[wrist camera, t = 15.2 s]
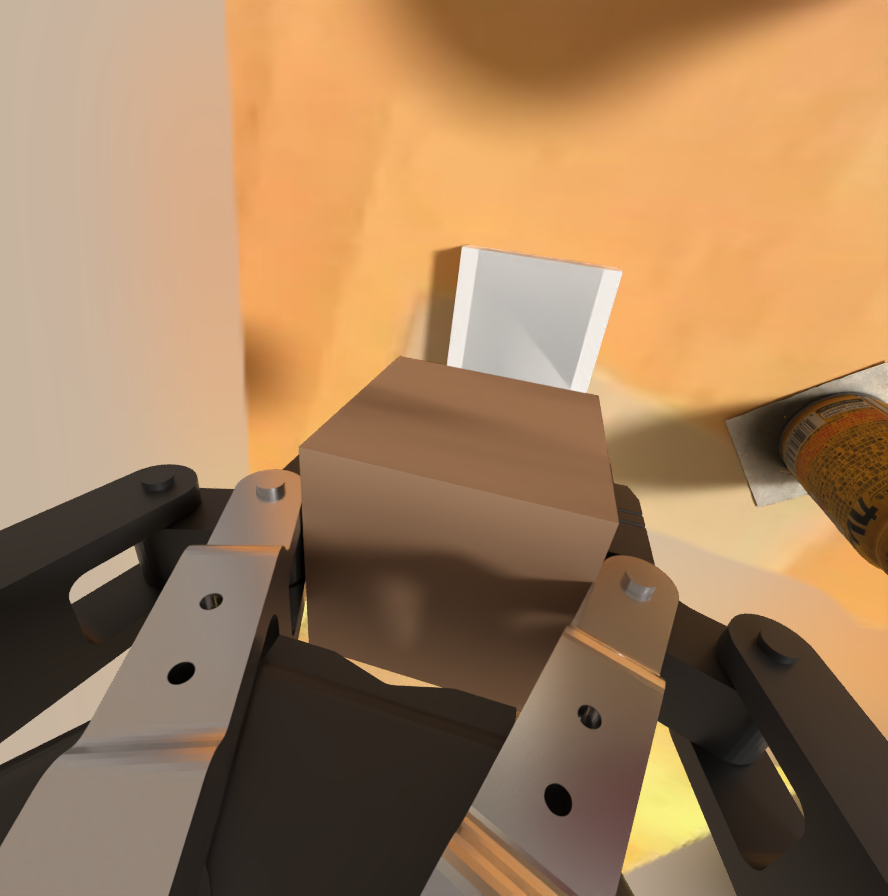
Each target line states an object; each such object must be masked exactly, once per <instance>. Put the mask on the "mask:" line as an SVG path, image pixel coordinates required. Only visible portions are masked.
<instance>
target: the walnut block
mask: <svg viewBox="0 0 888 896" xmlns="http://www.w3.org/2000/svg"><path fill="white" fill-rule="evenodd" d="M299 461H300V480H301V500H302V519H303V538H304V558H305V577H306V596H307V616H308V635H309V644H312V645H316V646H319V647H322V648H325V649H329V650H332V651H335V652H336V653H338V654H339V655H341V656H343V657H346V658H349V659H353V660H356V661H359V662H362V663H366V664H369V665H372V666H375V667H378V668H382V669H385V670H388V671H391V672H395V673H398V674H401V675H404V676H407V677H411V678H414V679H417V680H420V681H424V682H427V683H430V684H433V685H436V686H440V687H443V688H455V689H458V690H461V691H464V692H468V693H471V694H474V695H477V696H481V697H484V698H487V699H490V700H493V701H497V702H500V703H503V704H506V705H510V706H513V707H516V710H517V711H520V712H521V711H522V709H523V707H524V705H525V703H526V702H527V700H528V698H529V696H530V694H531V692H532V690H533V688H534V686H535V685H536V683H537V681H538V679H539V677H540V675H541V673H542V671H543V670H544V668H545V666H546V664H547V662H548V660H549V658H550V656H551V654H552V653H553V651H554V649H555V647H556V645H557V643H558V641H559V639H560V637H561V636H562V634H563V632H564V630H565V628H566V627H567V625H568V624H569V625H571V623H572V621H573V619H574V617H575V615H576V614H577V612H578V610H579V608H580V606H581V604H582V602H583V600H584V598H585V596H586V594H587V592H588V591H589V589H590V587H591V585H592V583H593V582H594V583H595V581H596V579H597V576H598V574H599V571H600V569H601V567H602V564H603V562H604V559H605V557H606V554H607V552H608V549H609V547H610V544H611V542H612V539H613V537H614V535H615V532H616V530H617V527H618V525H619V520H618V514H617V508H616V501H615V495H614V489H613V483H612V476H611V470H610V464H609V457H608V451H607V445H606V439H605V432H604V426H603V420H602V413H601V407H600V401H599V396H598V395H593V394H588V393H583V392H578V391H573V390H568V389H563V388H558V387H553V386H548V385H543V384H537V383H532V382H527V381H522V380H517V379H512V378H507V377H502V376H497V375H492V374H487V373H482V372H477V371H472V370H467V369H462V368H457V367H452V366H447V365H442V364H437V363H432V362H427V361H422V360H417V359H412V358H407V357H402V356H399V357H398V358H397V359H396V360H395V361H393V362H392V363H391V364H390V365H389V366H388V367H387V368H386V369H385V370H384V371H382V372H381V373H380V374H379V375H378V376H377V377H376V378H375V379H374V380H372V381H371V382H370V383H369V384H368V385H367V386H366V387H365V388H364V389H362V390H361V391H360V392H359V393H358V394H357V395H356V396H355V397H354V398H352V399H351V400H350V401H349V402H348V403H347V404H346V405H345V406H344V407H342V408H341V409H340V410H339V411H338V412H337V413H336V414H335V415H334V416H332V417H331V418H330V419H329V420H328V421H327V422H326V423H325V424H324V425H322V426H321V427H320V428H319V429H318V430H317V431H316V432H315V433H314V434H313V435H311V436H310V437H309V438H308V439H307V440H306V441H305V442H304V443H303V444H301V445H300V446H299Z"/></svg>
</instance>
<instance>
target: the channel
mask: <svg viewBox="0 0 888 896" xmlns="http://www.w3.org/2000/svg"><path fill="white" fill-rule="evenodd" d="M622 273H623V272H622V270H621V269H620V268H618V267H612V266H605V265H599V264H592V263H586V262H580V261H573V260H567V259H560V258H554V257H547V256H541V255H535V254H528V253H522V252H515V251H509V250H503V249H496V248H490V247H483V246H477V245H470V244H468V245H465V246H463V247H462V251H461V259H460V267H459V275H458V282H457V290H456V298H455V306H454V314H453V321H452V329H451V337H450V345H449V353H448V360H447V366H452V367H457V368H462V369H467V370H472V371H477V372H482V373H487V374H492V375H497V376H502V377H507V378H512V379H517V380H522V381H527V382H532V383H537V384H543V385H548V386H553V387H558V388H563V389H568V390H573V391H578V392H583V393H586V392H587V389H588V386H589V382H590V379H591V376H592V372H593V369H594V366H595V362H596V359H597V356H598V352H599V349H600V346H601V342H602V339H603V336H604V333H605V329H606V326H607V323H608V319H609V316H610V313H611V309H612V306H613V303H614V299H615V296H616V293H617V289H618V286H619V283H620V279H621V276H622Z"/></svg>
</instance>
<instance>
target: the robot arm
mask: <svg viewBox="0 0 888 896" xmlns="http://www.w3.org/2000/svg"><path fill="white" fill-rule="evenodd" d="M609 464H610V463H609ZM610 470H611V465H610ZM611 476H612V470H611ZM612 483H613V489H614V495H615V501H616V508H617V514H618V520H619V525H618V527H617V530H616V532H615V535H614V537H613V539H612V542H611V544H610V547H609V549H608V552H607V554H606V557H605V559H604V562H603V564H602V567H601V569H600V571H599V574H598V576H597V579H596V581H595V583H594V582H593V583H592V585H591V587H590V589H589V591H588V592H587V594H586V596H585V598H584V600H583V602H582V604H581V606H580V608H579V610H578V612H577V614H576V615H575V617H574V619H573V621H572V623H571V625H569V624H568V625H567V627H566V628H565V630H564V632H563V634H562V636H561V637H560V639H559V641H558V643H557V645H556V647H555V649H554V651H553V653H552V654H551V656H550V658H549V660H548V662H547V664H546V666H545V668H544V670H543V671H542V673H541V675H540V677H539V679H538V681H537V683H536V685H535V686H534V688H533V690H532V692H531V694H530V696H529V698H528V700H527V702H526V703H525V705H524V707H523V709H522V711H521V713H520V715H519V717H518V719H517V720H516V722H515V718H516V707H513V706H510V705H506V704H503V703H500V702H497V701H493V700H490V699H487V698H484V697H481V696H477V695H474V694H471V693H468V692H464V691H461V690H458V689H455V688H435V687H416V686H396V685H389V684H386V683H384V682H382V681H380V680H379V679H377V678H376V677H374V676H372V675H371V674H369V673H368V672H366V671H365V670H363V669H361V668H360V667H358V666H357V665H355V664H354V663H352V662H350V661H349V660H347V659H346V658H344V657H343V656H341V655H339V654H338V653H336V652H335V651H332V650H329V649H325V648H322V647H319V646H316V645H312V644H309V643H306V642H303V641H300V640H298V637H299V632H300V626H301V621H302V616H303V611H304V606H305V601H306V577H305V558H304V538H303V519H302V500H301V480H300V461H299V455H298V456H297V457H296V458H295V459H293V460H292V461H291V462H290V463H289V464H288V465H287V466H286V467H285V468H284V469H283V470H278V469H275V470H264V471H259V472H256V473H253V474H250V475H248V476H246V477H245V478H243V479H242V480H241V481H240V482H239V483H238V484H237V485H236V487H235V489H212V488H211V489H210V488H199V484H198V478H197V475H196V473H195V472H194V471H193V470H192V469H190V468H188V467H185V466H181V465H170V464H169V465H157V466H152V467H148V468H145V469H141V470H139V471H136V472H134V473H131V474H130V475H127V476H125V477H123V478H120V479H118V480H115V481H113V482H111V483H109V484H106V485H104V486H102V487H99V488H97V489H95V490H92V491H90V492H88V493H86V494H83V495H81V496H79V497H76V498H74V499H72V500H70V501H67V502H65V503H62V504H60V505H58V506H56V507H53V508H51V509H49V510H46V511H44V512H42V513H39V514H37V515H35V516H33V517H30V518H28V519H26V520H23V521H21V522H19V523H16V524H14V525H12V526H10V527H8V528H5V529H3V530H1V531H0V743H1V742H2V741H4V740H5V739H7V738H8V737H9V736H11V735H12V734H13V733H15V732H16V731H17V730H19V729H20V728H21V727H23V726H24V725H25V724H27V723H28V722H30V721H31V720H32V719H34V718H35V717H36V716H38V715H39V714H40V713H42V712H43V711H44V710H46V709H47V708H49V707H50V706H51V705H53V704H54V703H55V702H57V701H58V700H59V699H61V698H62V697H63V696H65V695H66V694H67V693H69V692H70V691H71V690H73V689H74V688H76V687H77V686H78V685H80V684H81V683H82V682H84V681H85V680H86V679H88V678H89V677H90V676H92V675H93V674H95V673H96V672H97V671H99V670H100V669H101V668H103V667H104V666H105V665H107V664H108V663H109V662H111V661H112V660H113V659H115V658H116V657H118V656H119V655H120V654H122V653H123V652H124V651H126V650H127V649H128V648H130V647H131V646H132V647H131V648H130V650H129V652H128V654H127V656H126V657H125V659H124V661H123V663H122V665H121V667H120V668H119V670H118V672H117V674H116V676H115V678H114V679H113V681H112V683H111V685H110V687H109V688H108V690H107V692H106V694H105V696H104V697H103V699H102V701H101V703H100V705H99V707H98V709H97V710H96V712H95V714H94V716H93V718H92V719H91V720H90V721H88V722H86V723H84V724H82V725H80V726H78V727H76V728H74V729H72V730H70V731H68V732H66V733H64V734H62V735H60V736H58V737H56V738H54V739H52V740H50V741H48V742H46V743H44V744H42V745H40V746H38V747H36V748H34V749H32V750H29V751H27V752H26V753H23V754H21V755H19V756H17V757H15V758H13V759H11V760H9V761H7V762H5V763H3V764H1V765H0V896H634V894H633V893H632V891H631V889H630V887H629V885H628V883H627V882H626V880H625V878H624V876H623V874H622V873H621V871H622V867H623V863H624V858H625V854H626V850H627V846H628V842H629V837H630V833H631V829H632V825H633V821H634V816H635V812H636V808H637V804H638V800H639V796H640V791H641V787H642V783H643V779H644V775H645V770H646V766H647V762H648V758H649V754H650V750H651V745H652V741H653V737H654V733H655V729H656V724H657V721H659V722H660V723H662V724H663V725H665V726H667V727H668V728H669V731H670V734H671V737H672V740H673V742H674V745H675V747H676V750H677V752H678V754H679V757H680V759H681V762H682V764H683V766H684V769H685V771H686V774H687V776H688V779H689V781H690V783H691V786H692V788H693V791H694V793H695V795H696V798H697V800H698V803H699V805H700V808H701V810H702V812H703V815H704V817H705V820H706V822H707V824H708V827H709V829H710V832H711V834H712V837H713V839H714V841H715V844H716V846H717V849H718V851H719V853H720V856H721V858H722V861H723V863H724V866H725V868H726V870H727V873H728V875H729V878H730V880H731V882H732V884H733V887H734V890H735V892H736V895H737V896H888V741H887V740H886V738H885V737H884V736H883V735H882V734H881V732H880V731H879V730H878V729H877V727H876V726H875V725H874V723H873V722H872V721H871V720H870V719H869V717H868V716H867V715H866V714H865V712H864V711H863V710H862V709H861V707H860V706H859V705H858V704H857V702H856V701H855V700H854V699H853V697H852V696H851V695H850V694H849V692H848V691H847V690H846V689H845V687H844V686H843V685H842V684H841V682H840V681H839V680H838V679H837V677H836V676H835V675H834V674H833V672H832V671H831V670H830V669H829V668H828V667H827V665H826V664H825V663H824V661H823V660H822V659H821V658H820V656H819V655H818V654H817V653H816V651H815V650H814V649H813V648H812V647H811V646H810V645H809V644H808V643H807V642H806V641H805V640H804V639H803V638H801V637H800V636H799V635H798V634H796V633H795V632H793V631H792V630H791V629H789V628H787V627H786V626H784V625H782V624H780V623H778V622H776V621H774V620H772V619H769V618H766V617H764V616H760V615H755V614H740V615H737V616H735V617H734V618H733V619H732V620H731V621H730V623H729V624H728V626H725V625H723V624H721V623H719V622H717V621H715V620H713V619H711V618H709V617H707V616H705V615H703V614H701V613H699V612H697V611H695V610H693V609H691V608H689V607H688V606H686V605H685V604H683V603H682V602H680V601H679V594H678V590H677V588H676V586H675V584H674V583H673V581H672V580H671V579H670V578H669V577H668V576H667V575H666V574H665V573H664V572H663V571H661V570H660V569H659V568H658V567H656V566H655V564H654V560H653V556H652V551H651V547H650V543H649V539H648V535H647V531H646V528H645V523H644V519H643V517H642V510H641V506H640V502H639V500H638V498H637V497H636V496H635V495H634V494H633V492H632V491H631V490H630V489H629V488H628V486H624V485H619V484H615V483H614V482H613V476H612ZM132 546H135V550H136V553H137V556H138V560H139V564H138V565H136V566H134V567H132V568H131V569H129V570H128V571H126V572H124V573H122V574H121V575H119V576H118V577H116V578H114V579H113V580H111V581H109V582H107V583H106V584H104V585H102V586H101V587H99V588H97V589H96V590H94V591H93V592H91V593H89V594H88V595H86V596H84V597H83V598H81V599H80V600H78V601H76V602H74V603H73V604H71V603H70V600H69V592H70V589H71V587H72V586H73V584H74V583H75V581H76V580H77V579H78V578H79V577H81V576H82V575H83V574H84V573H86V572H88V571H89V570H91V569H93V568H95V567H97V566H98V565H100V564H101V563H104V562H105V561H107V560H109V559H111V558H112V557H114V556H116V555H118V554H119V553H121V552H123V551H125V550H127V549H128V548H130V547H132ZM768 746H769V748H770V749H771V751H772V753H773V755H774V756H775V758H776V760H777V761H778V763H779V765H780V767H781V768H782V770H783V772H784V774H785V775H786V777H787V779H788V780H789V782H790V784H791V786H792V787H793V789H794V791H795V792H796V794H797V796H798V798H799V800H800V803H801V805H802V809H803V812H804V817H805V818H804V817H803V815H802V813H801V811H800V810H799V808H798V806H797V804H796V803H795V801H794V799H793V797H792V796H791V794H790V792H789V790H788V789H787V787H786V785H785V783H784V782H783V780H782V778H781V776H780V775H779V773H778V771H777V769H776V768H775V766H774V764H773V763H772V761H771V759H770V757H769V756H768V754H767V752H766V751H765V749H766V748H767V747H768Z"/></svg>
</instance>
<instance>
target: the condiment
mask: <svg viewBox="0 0 888 896" xmlns="http://www.w3.org/2000/svg"><path fill="white" fill-rule="evenodd" d="M785 415H786V417H785V418H784V417H783V416H785ZM725 423H726V425H727V428H728V430H729V434H730V436H731V439H732V441H733V444H734V446H735V449H736V452H737V454H738V457H739V460H740V462H741V465H742V467H743V470H744V473H745V475H746V477H747V480H748V483H749V485H750V488H751V490H752V493H753V495H754V498H755V500H756V503H757V506H758V508H759V507H763V506H766V505H772V504H775V503H778V502H781V501H785V500H791V499H794V498H797V497H799V496H803V495H810V496H811V498H812V499H813V500H814V501H815V502H816V503H817V504H818V505H819V506H820V508H821V509H822V510H823V511H824V513H825V514H826V515H827V516H828V517H829V518H830V520H831V521H832V522H833V523H834V524H835V526H836V527H837V529H838V530H839V531H840V532H841V533H842V534H843V535H844V536H845V538H846V539H847V540H848V541H849V542H850V544H851V545H852V546H853V547H854V549H856V550H857V552H858V553H859V554H860V555H861V556H862V557H863V558H864V559H865V560H866V561H868V562H869V563H870V564H872V565H874V566H875V567H877V568H879V569H881V570H883V571H884V572H885V573H886V574H887V575H888V362H886V363H883V364H880V365H878V366H874V367H872V368H869V369H866V370H863V371H860V372H857V373H854V374H851V375H848V376H846V377H844V378H841V379H837V380H834V381H831V382H828V383H825V384H823V385H821V386H819V387H815V388H812V389H809V390H807V391H805V392H802V393H799V394H796V395H794V396H792V397H790V398H787V399H785V400H781V401H777V402H775V403H772V404H769V405H766V406H763V407H760V408H758V409H755V410H753V411H750V412H748V413H746V414H743V415H741V416H737V417H734V418H731V419H729V420H726V421H725ZM779 470H783V471H785V472H784V473H781V472H779ZM788 471H790V472H791V474H788V473H787V472H788Z"/></svg>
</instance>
